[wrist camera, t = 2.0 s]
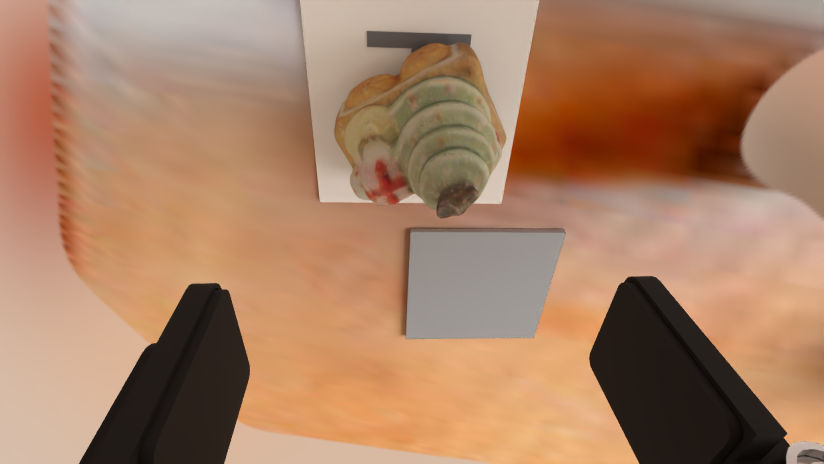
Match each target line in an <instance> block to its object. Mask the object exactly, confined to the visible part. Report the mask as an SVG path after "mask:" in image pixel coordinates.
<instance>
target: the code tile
mask: <svg viewBox="0 0 824 464" xmlns="http://www.w3.org/2000/svg"><path fill="white" fill-rule="evenodd" d="M538 5H539V0H300V8H301V18H302V28H303V38H304V48H305V58H306V68H307V78H308V88H309V98H310V108H311V118H312V128H313V138H314V148H315V158H316V168H317V178H318V188H319V198H320V202H360V203H373V202H372V201H371V200H362V199H360V198H358V197H357V196H356V195H355V193H354V191H353V189H352V187H351V185H350V176H351V173H352V171H353V168H352V166H351V165H350V163H349V161H348V160H347V158H346V156H345V155H344V153H343V151H342V150H341V148H340V147H339V145H338V143H337V142H336V139H335V135H334V129H335V121H336V117H337V114H338V112H339V109H340V107H341V105H342V104H343V103H344V101H345V100H346V99H347V97H348V95H349V93H350V91H351V90H352V89H353V88H354V87H356V86H357V85H358V84H360V83H361V82H363V81H365V80H366V79H368V78H371V77H374V76H377V75H380V74H389V75H393V76H396V75H399V73H400V71H401V67H402V64H403V62H404V61H405V60H406V58H407V57H408V56H409V55H410V54H411V53H413V52H414V51H416V50H418V49H419V48H421V47H423V46H426V45H428V44H432V43H441V44H444V45H452V44H455V43H459V42H460V43H465V44H468V45H469V46H470V47H471V48H472V49H473V50H474V52H475V53H476V55H477V57H478V59H479V61H480V64H481V67H482V71H483V76H484V81H485V83H486V86H487V89H488V92H489V94H490V96H491V99H492V101H493V103H494V106H495V109H496V111H497V114H498V116H499V119H500V121H501V123H502V125H503V128H504V130H505V133H506V142H505V145H504V147H503V148H502V156H501V158H500V160H499V162H498V164H497V166H496V168H495V169H494V170H493V171H492V173H491V175H490V177H489V179H488V182H487V184H486V186H485V188H484V190H483V192H482V194H481V195H480V197H479V198H478V199H477V200H476V201H475V202H474V203H473V204H501V203H502V197H503V192H504V187H505V181H506V176H507V171H508V165H509V160H510V155H511V149H512V144H513V139H514V133H515V128H516V123H517V117H518V112H519V107H520V101H521V96H522V91H523V85H524V80H525V75H526V69H527V64H528V58H529V53H530V48H531V42H532V37H533V32H534V26H535V21H536V16H537V10H538ZM398 203H424V202H423V200H422V199H421V198H420V197H418V196H417V195H416V194H413V195H411V196H409V197H408V198H405V199H403V200H401V201H400V202H398Z"/></svg>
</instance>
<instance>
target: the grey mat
mask: <svg viewBox="0 0 824 464" xmlns="http://www.w3.org/2000/svg"><path fill="white" fill-rule="evenodd" d="M565 234H566V232H565V230H564V229H435V228H410V250H409V272H408V295H407V317H406V339H468V338H534V336H535V333H536V330H537V326H538V323H539V320H540V316H541V313H542V310H543V307H544V303H545V300H546V297H547V293H548V290H549V287H550V284H551V280H552V277H553V274H554V270H555V267H556V264H557V260H558V257H559V254H560V251H561V247H562V244H563V241H564V237H565Z"/></svg>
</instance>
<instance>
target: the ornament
mask: <svg viewBox="0 0 824 464" xmlns="http://www.w3.org/2000/svg"><path fill="white" fill-rule="evenodd" d="M334 135H335V139H336V142H337V143H338V145H339V147H340V148H341V150H342V151H343V153H344V155H345V156H346V158H347V160H348V161H349V163H350V165H351V166H352V168H353V171H352V173H351V176H350V185H351V187H352V189H353V191H354V193H355V195H356V196H357V197H358V198H360V199H362V200H371V201H372V202H373V203H375V204H376V205H382V206H383V205H390V204H396V203H398V202H400V201H401V200H403V199H405V198H408V197H409V196H411V195H413V194H416V195H417V196H418V197H420V198H421V199H422V200H423V202H424V203H425V204H426V205H427V206H428V207H430V208H432V209H434V210H437V216H438V217H440V218H441V219H442V218H447V217H450V216H459V215H461V214H463V213H464V212H465V211H466V209H467V208H468V207H469V206H470V205H471V204H473V203H474V202H475V201H476V200H477V199H478V198H479V197H480V195H481V194H482V192H483V190H484V188H485V186H486V184H487V182H488V179H489V177H490V175H491V173H492V171H493V170H494V169H495V168H496V166H497V164H498V162H499V160H500V158H501V156H502V148H503V147H504V145H505V142H506V133H505V130H504V128H503V125H502V123H501V121H500V119H499V116H498V114H497V111H496V109H495V106H494V103H493V101H492V99H491V96H490V94H489V92H488V89H487V86H486V83H485V81H484V76H483V71H482V67H481V64H480V61H479V59H478V57H477V55H476V53H475V52H474V50H473V49H472V48H471V47H470V46H469V45H468V44H465V43H460V42H459V43H455V44H452V45H444V44H441V43H432V44H428V45H426V46H423V47H421V48H419V49H418V50H416V51H414V52H413V53H411V54H410V55H409V56H408V57H407V58H406V60H405V61H404V62H403V64H402V67H401V71H400V73H399V75H396V76H393V75H389V74H380V75H377V76H374V77H371V78H368V79H366V80H365V81H363V82H361V83H360V84H358V85H357V86H356V87H354V88H353V89H352V90H351V91H350V93H349V95H348V97H347V99H346V100H345V101H344V103H343V104H342V105H341V107H340V109H339V112H338V114H337V117H336V121H335V129H334Z"/></svg>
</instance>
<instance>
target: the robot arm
mask: <svg viewBox="0 0 824 464" xmlns="http://www.w3.org/2000/svg"><path fill="white" fill-rule="evenodd" d="M589 360H590V366H591V368H592V370H593V372H594V374H595V376H596V378H597V380H598V382H599V384H600V386H601V388H602V390H603V392H604V394H605V396H606V398H607V400H608V402H609V404H610V406H611V408H612V410H613V412H614V414H615V416H616V418H617V420H618V422H619V424H620V426H621V428H622V430H623V432H624V434H625V436H626V438H627V440H628V442H629V444H630V446H631V448H632V450H633V452H634V454H635V456H636V458H637V460H638V462H639V464H824V445H821V444H818V443H813V442H807V441H802V442H796V443H794V444H792V445H791V446H790V445H789V444H788V443H787V441H786V440H785V439H784V437H785V436H786V435H787V432H786V431H785V430H784V429H783V428H782V426H781V425H780V424H779V423H778V422H777V420H776V419H775V418H774V417H773V416H772V414H771V413H770V412H769V411H768V410H767V408H766V407H765V406H764V405H763V404H762V403H761V401H760V400H759V399H758V398H757V397H756V395H755V394H754V393H753V392H752V391H751V389H750V388H749V387H748V386H747V385H746V383H745V382H744V381H743V380H742V379H741V377H740V376H739V375H738V374H737V373H736V371H735V370H734V369H733V368H732V367H731V365H730V364H729V363H728V362H727V361H726V359H725V358H724V357H723V356H722V355H721V353H720V352H719V351H718V350H717V349H716V347H715V346H714V345H713V344H712V343H711V342H710V340H709V339H708V338H707V337H706V336H705V334H704V333H703V332H702V331H701V330H700V328H699V327H698V326H697V325H696V324H695V322H694V321H693V320H692V319H691V318H690V316H689V315H688V314H687V313H686V312H685V310H684V309H683V308H682V307H681V306H680V304H679V303H678V302H677V301H676V300H675V298H674V297H673V296H672V295H671V294H670V292H669V291H668V290H667V289H666V288H665V286H664V285H663V284H662V283H661V282H660V281H659V280H658V279H657V278H656V277H653V276H640V277H628V278H627V279H626V280H625V282H624V283H621V284H620V285H619V286H618V288H617V291H616V293H615V296H614V298H613V300H612V303H611V305H610V307H609V310H608V312H607V314H606V317H605V319H604V322H603V324H602V326H601V329H600V331H599V333H598V336H597V338H596V341H595V343H594V345H593V348H592V350H591V352H590V357H589ZM249 375H250V365H249V361H248V357H247V354H246V350H245V347H244V343H243V340H242V336H241V333H240V329H239V325H238V322H237V318H236V315H235V311H234V308H233V304H232V300H231V297H230V294H229V291H228V290H222V289H221V286H220V285H219V284H217V283H209V284H191V285H189V286H188V288H187V289H186V291H185V293H184V294H183V296H182V298H181V300H180V302H179V304H178V305H177V307H176V309H175V311H174V313H173V314H172V316H171V318H170V320H169V322H168V324H167V325H166V327H165V329H164V331H163V333H162V334H161V336H160V338H159V340H158V342H157V343H154V344H151V345H149V346H148V347H147V348H146V349H145V350H144V352H143V353H142V354H141V356H140V358H139V360H138V361H137V363H136V365H135V367H134V368H133V370H132V372H131V374H130V375H129V377H128V379H127V381H126V382H125V384H124V386H123V387H122V390H121V391H120V393H119V395H118V396H117V398H116V400H115V401H114V403H113V405H112V407H111V408H110V410H109V412H108V414H107V416H106V417H105V419H104V421H103V422H102V424H101V426H100V428H99V429H98V431H97V433H96V435H95V436H94V438H93V440H92V442H91V443H90V445H89V447H88V449H87V450H86V452H85V454H84V456H83V457H82V459H81V461H80V463H79V464H224V462H225V459H226V455H227V452H228V448H229V445H230V442H231V438H232V435H233V431H234V428H235V424H236V421H237V418H238V414H239V411H240V407H241V404H242V401H243V397H244V394H245V390H246V387H247V384H248V380H249Z"/></svg>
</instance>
